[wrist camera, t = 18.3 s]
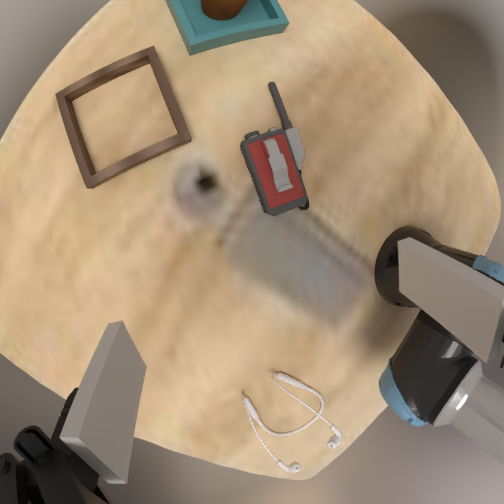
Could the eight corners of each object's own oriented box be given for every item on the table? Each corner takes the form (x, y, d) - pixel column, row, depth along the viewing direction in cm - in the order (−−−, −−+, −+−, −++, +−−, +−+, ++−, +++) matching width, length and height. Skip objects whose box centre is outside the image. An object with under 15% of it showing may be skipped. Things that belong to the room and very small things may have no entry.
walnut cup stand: (155, 54, 34) (153, 45, 32) (190, 141, 39) (191, 138, 36) (62, 99, 33) (55, 94, 30) (93, 188, 37) (86, 188, 34)
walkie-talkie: (316, 203, 45) (274, 83, 40) (329, 205, 41) (284, 73, 36) (265, 223, 44) (220, 97, 39) (274, 227, 40) (224, 88, 34)
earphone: (286, 362, 45) (352, 441, 39) (293, 359, 61) (343, 419, 54) (222, 408, 45) (285, 484, 38) (244, 395, 60) (293, 454, 53)
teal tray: (247, -29, 33) (251, -40, 30) (282, 32, 37) (289, 22, 34) (160, -10, 31) (160, -22, 28) (189, 55, 36) (190, 45, 32)
